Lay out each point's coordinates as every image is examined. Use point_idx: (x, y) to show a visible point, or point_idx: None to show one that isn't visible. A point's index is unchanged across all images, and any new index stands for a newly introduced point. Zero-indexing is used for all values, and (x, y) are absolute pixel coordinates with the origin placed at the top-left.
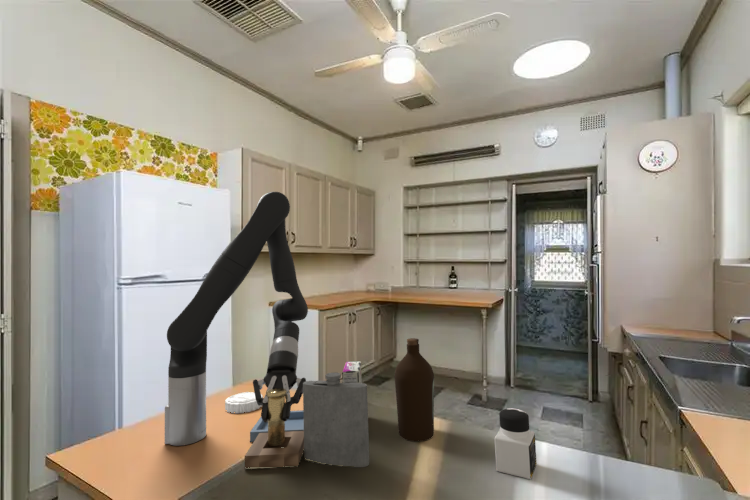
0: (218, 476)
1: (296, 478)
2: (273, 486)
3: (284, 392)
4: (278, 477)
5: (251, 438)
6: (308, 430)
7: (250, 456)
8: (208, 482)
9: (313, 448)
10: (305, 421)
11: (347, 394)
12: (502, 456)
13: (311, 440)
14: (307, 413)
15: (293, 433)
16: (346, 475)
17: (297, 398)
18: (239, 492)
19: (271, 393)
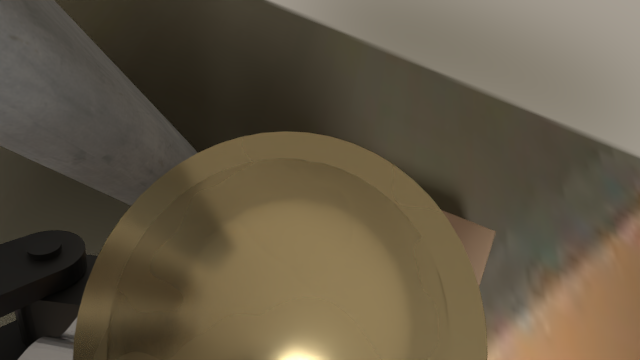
0: (578, 242)
1: (297, 93)
2: (377, 82)
3: (165, 176)
4: (352, 126)
5: None
6: (165, 125)
7: (466, 220)
8: (612, 213)
9: (186, 142)
10: (151, 117)
11: None
12: None
13: (177, 134)
14: (109, 69)
15: None
16: (151, 42)
17: (45, 237)
18: (487, 98)
19: (388, 221)
